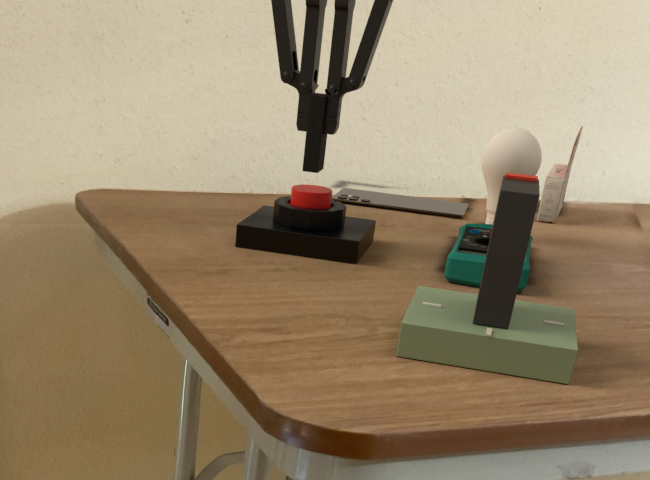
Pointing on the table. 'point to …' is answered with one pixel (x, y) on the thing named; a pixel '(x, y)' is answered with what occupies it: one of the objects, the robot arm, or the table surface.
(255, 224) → the button box
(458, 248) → the digital multimeter
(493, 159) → the lightbulb
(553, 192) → the ink cartridge box
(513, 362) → the panel
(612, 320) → the table surface
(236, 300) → the table surface
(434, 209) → the smartphone
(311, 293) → the table surface
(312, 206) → the button
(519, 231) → the switch lever
